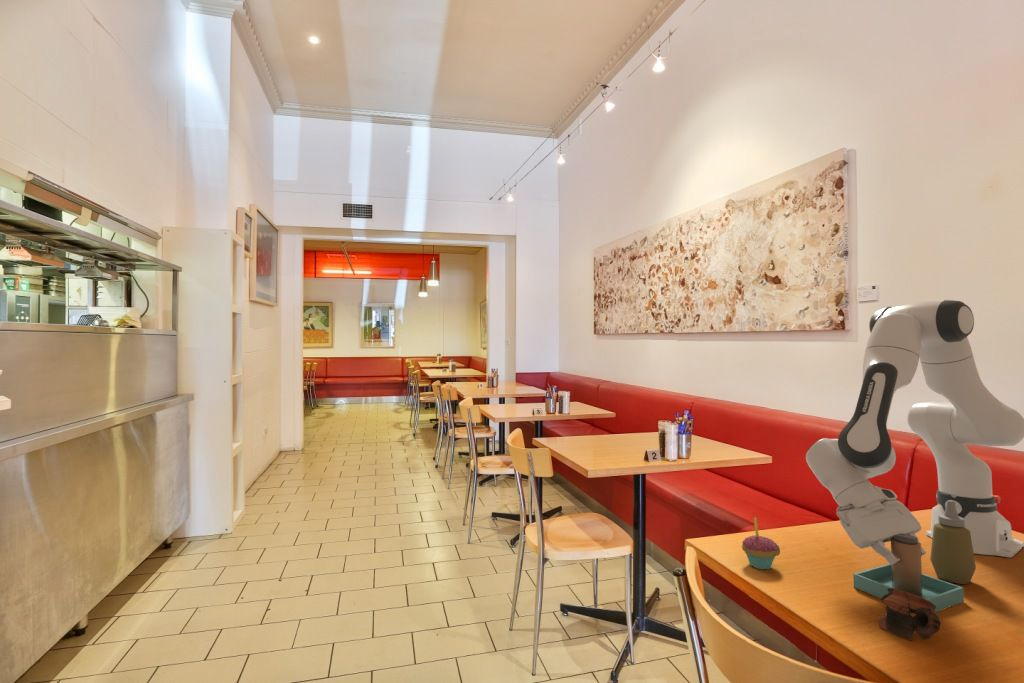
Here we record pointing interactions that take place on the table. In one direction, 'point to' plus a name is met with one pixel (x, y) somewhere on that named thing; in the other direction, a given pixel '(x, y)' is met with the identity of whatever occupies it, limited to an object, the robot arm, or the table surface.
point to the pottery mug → (909, 615)
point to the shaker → (907, 564)
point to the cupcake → (760, 550)
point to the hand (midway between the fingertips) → (909, 559)
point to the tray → (932, 588)
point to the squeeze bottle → (952, 548)
